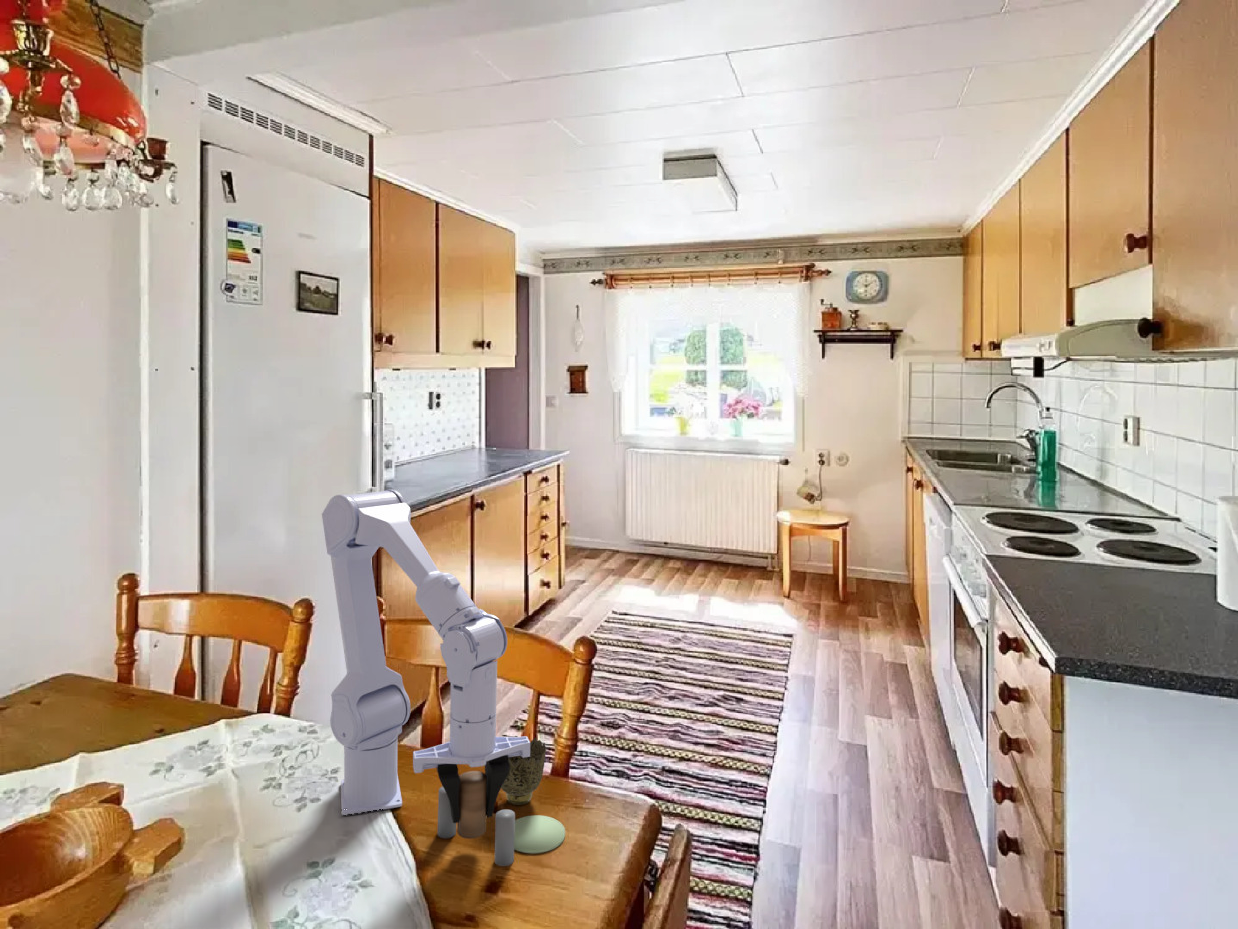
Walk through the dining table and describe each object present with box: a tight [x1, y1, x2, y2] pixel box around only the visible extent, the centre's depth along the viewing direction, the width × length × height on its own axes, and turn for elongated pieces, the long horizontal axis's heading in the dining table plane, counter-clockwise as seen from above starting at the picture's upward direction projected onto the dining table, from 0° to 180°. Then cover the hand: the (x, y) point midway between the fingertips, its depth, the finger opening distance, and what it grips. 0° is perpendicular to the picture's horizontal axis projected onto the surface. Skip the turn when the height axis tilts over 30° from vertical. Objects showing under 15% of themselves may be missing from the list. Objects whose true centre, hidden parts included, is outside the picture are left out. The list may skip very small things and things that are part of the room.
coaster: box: [514, 814, 566, 854], centre depth 99 cm, size 8×8×1 cm
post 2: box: [494, 808, 516, 867], centre depth 93 cm, size 2×2×6 cm
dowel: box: [456, 770, 487, 840], centre depth 95 cm, size 4×4×7 cm
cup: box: [501, 735, 548, 806], centre depth 107 cm, size 8×7×8 cm
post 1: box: [436, 785, 457, 839], centre depth 98 cm, size 2×2×6 cm
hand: (471, 816), depth 95 cm, fingers closed on dowel, 4 cm apart
